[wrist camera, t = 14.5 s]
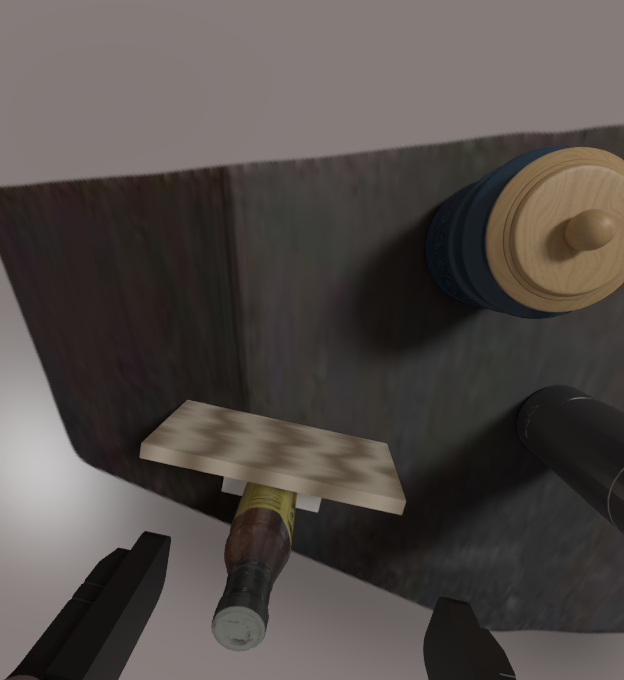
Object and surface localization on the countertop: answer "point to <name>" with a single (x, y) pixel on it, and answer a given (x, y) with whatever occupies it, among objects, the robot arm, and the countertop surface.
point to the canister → (534, 234)
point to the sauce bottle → (253, 564)
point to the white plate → (302, 500)
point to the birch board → (278, 455)
